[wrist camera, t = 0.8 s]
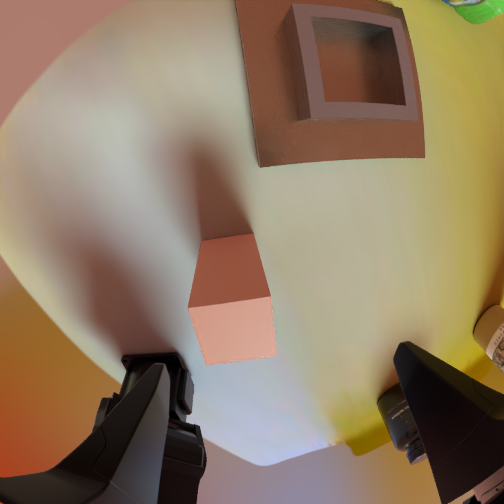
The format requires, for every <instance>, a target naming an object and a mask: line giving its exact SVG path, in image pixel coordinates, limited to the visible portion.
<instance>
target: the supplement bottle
mask: <svg viewBox="0 0 504 504" xmlns="http://www.w3.org/2000/svg"><path fill="white" fill-rule="evenodd" d="M378 410H379V412H380V414H381V416H382V419H383V421H384V423H385V425H386V428H387V430H388V432H389V434H390V437H391V439H392V441H393V444H394V446H395V448H396V449H397V450H398V451H402V452H407V454H406V456H407V458H408V459H409V462H410V464H411V465H414V464H417V463H419V462H421V461H423V460H425V459H427V458H428V457H427V454H426V451H425V448H424V446H423V443H422V440H421V437H420V434H419V432H418V429H417V426H416V424H415V421H414V419H413V416H412V413H411V411H410V408H409V406H408V403H407V401H406V399H405V396H404V393H403V391H402V388H401V384H398V385H396V386H394V387H392V388H391V389H389V390H388V391H387V392H386V393H384V394H383V396H382V397H381V398H380V400H379V401H378Z"/></svg>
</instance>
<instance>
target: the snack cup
mask: <svg viewBox="0 0 504 504" xmlns="http://www.w3.org/2000/svg"><path fill="white" fill-rule="evenodd" d="M443 1H444V2H446V3H447V4H450V5H451V6H453V7H454V8H455V10H456V12H457V13H458V14H459V15H461V16H462V17H463V18H464V19H465V20H466V21H468V22H470V23H472V24H481V23H484V22H486V21H487V20H489V19H491V18H493V17H495V16H497V15H500V14H502V13H504V0H443Z"/></svg>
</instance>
